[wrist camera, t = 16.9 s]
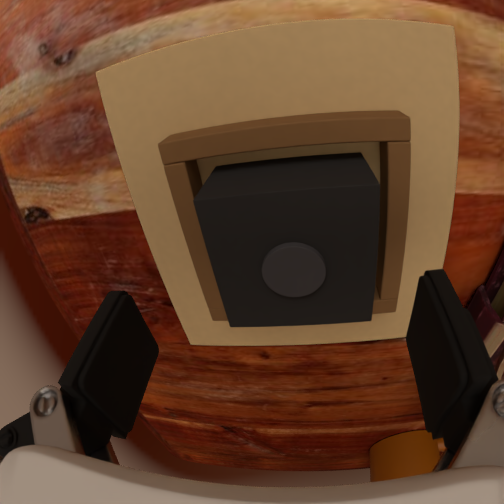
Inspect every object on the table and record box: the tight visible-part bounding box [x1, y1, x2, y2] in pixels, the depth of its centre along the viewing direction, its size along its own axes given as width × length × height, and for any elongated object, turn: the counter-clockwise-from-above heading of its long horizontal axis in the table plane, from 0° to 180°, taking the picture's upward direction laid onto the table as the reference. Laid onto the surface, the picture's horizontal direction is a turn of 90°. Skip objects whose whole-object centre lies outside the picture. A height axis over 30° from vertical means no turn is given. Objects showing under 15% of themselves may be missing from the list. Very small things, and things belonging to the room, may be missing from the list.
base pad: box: [96, 19, 459, 346], centre depth 15 cm, size 16×18×2 cm
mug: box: [369, 430, 446, 482], centre depth 27 cm, size 9×12×9 cm
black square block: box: [193, 152, 380, 327], centre depth 13 cm, size 6×6×4 cm
